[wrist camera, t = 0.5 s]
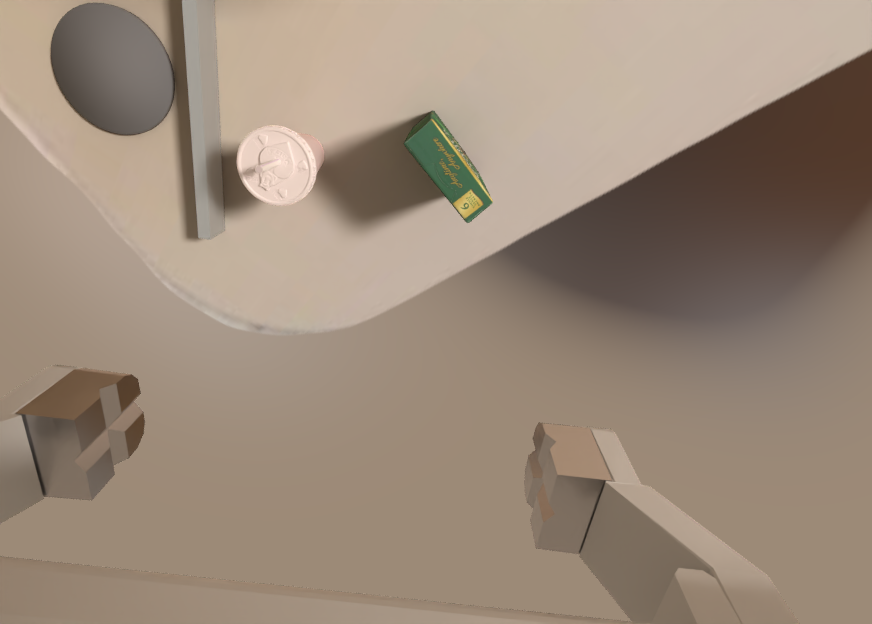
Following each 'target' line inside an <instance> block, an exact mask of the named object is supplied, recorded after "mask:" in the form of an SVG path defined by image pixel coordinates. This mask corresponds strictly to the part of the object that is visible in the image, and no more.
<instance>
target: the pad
mask: <svg viewBox="0 0 872 624" xmlns="http://www.w3.org/2000/svg"><path fill="white" fill-rule="evenodd" d="M51 59H52V66H53V70H54V73H55V76H56V79H57V82H58V84H59V86H60V88H61V90H62V92H63V93H64V95H65V97H66V98H67V100H68V101H69V102H70V104H71V105H72V106H73V107H74V108H75V109H76V110H77V111H78V112H79V113H80V114H81V115H82V116H83V117H84V118H85V119H87V120H88V121H89V122H91V123H93V124H94V125H96V126H97V127H100V128H102V129H104V130H106V131H109V132H112V133H117V134H125V135H130V134H139V133H143V132H146V131H149V130H151V129H153V128H154V127H156V126H157V125H158V124H160V123H161V122H162V121H163V119H164V118H165V117H166V116H167V114H168V112H169V110H170V108H171V105H172V102H173V98H174V91H175V80H174V73H173V69H172V65H171V62H170V59H169V56H168V54H167V52H166V50H165V48H164V46H163V44H162V43H161V41H160V40H159V38H158V37H157V36H156V34H155V33H154V32H153V31H152V30H151V29H150V28H149V27H148V25H147V24H145V23H144V22H143V21H142V20H141V19H139V18H138V17H137V16H135V15H134V14H132V13H130V12H128V11H126V10H124V9H122V8H119V7H117V6H113V5H109V4H104V3H87V4H83V5H80V6H77V7H75V8H73V9H72V10H70V11H69V12H67V13H66V14H65V15H64V16H63V17H62V19H61V20H60V21H59V23H58V24H57V27H56V29H55V31H54V34H53V38H52V44H51Z"/></svg>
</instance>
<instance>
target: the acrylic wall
mask: <svg viewBox="0 0 872 624" xmlns="http://www.w3.org/2000/svg"><path fill="white" fill-rule="evenodd" d="M182 11H183V25H184V39H185V54H186V68H187V82H188V97H189V111H190V125H191V140H192V154H193V169H194V183H195V197H196V212H197V226H198V238H202V239H210V240H211V239H212V238H214V237H215V236H217V235H219V234H220V233H222V232H223V231H225V220H224V199H223V177H222V155H221V134H220V112H219V91H218V69H217V47H216V26H215V4H214V0H182Z"/></svg>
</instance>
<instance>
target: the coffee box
mask: <svg viewBox="0 0 872 624" xmlns="http://www.w3.org/2000/svg"><path fill="white" fill-rule="evenodd" d="M404 145H405V147H406V148H407V149H408V150H409V152H410V153H411V154H412V155H413V157H414V158H415V159H416V160H417V162H418V163H419V164H420V165H421V167H422V168H423V169H424V170H425V172H426V173H427V174H428V175H429V177H430V178H431V179H432V180H433V182H434V183H435V184H436V185H437V186H438V188H439V189H440V190H441V192H442V193H443V194H444V195H445V197H446V198H447V199H448V200H449V202H450V203H451V204H452V205H453V207H454V208H455V209H456V210H457V212H458V213H459V214H460V215H461V217H462V218H463V219H464V220H465V221H466V222H467V223H469V222H471V221H472V220H473V219H474V218H475V217H476V216H478V215H479V214H480V213H481V212H482V211H484V210H485V209H486V208H487V207H488V206H490V205H491V204H492V203H493V201H492V199H491V197H490V195H489V193H488V191H487V189H486V186H485V184H484V182H483V180H482V178H481V176H480V174H479V172H478V171H477V170H476V168H475V167H474V165H473V164H472V162H471V161H470V159H469V158H468V156H467V155H466V153H465V151H463V149H462V148H461V146H460V145H459V144H458V142H457V141H456V140H455V138H454V137H453V136H452V134H451V133H450V132H449V130H448V129H447V128H446V126H445V125H444V124H443V122H442V121H441V119H440V118H439V117H438V115H437V114H436V113H435V111H431V112H430V113H429V114H428V115H427V116H426V117H425V118H424V119H422V120H421V121H420V122H419V123H418V124H416V126H414V127H413V128H412V130H411V132H410V133H409V135H408V137H407V138H406V140H405V142H404Z"/></svg>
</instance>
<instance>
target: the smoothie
mask: <svg viewBox="0 0 872 624" xmlns="http://www.w3.org/2000/svg"><path fill="white" fill-rule="evenodd" d="M324 156H325V155H324V149H323V147H322V145H321V143H320V142H319V141H318V140H317V139H316V138H315V137H313V136H311V135H307V134H301V133H296V132H294V131H292V130H290V129H289V128H287V127H282V126H278V125H269V126H264V127H261V128H258V129H256V130H254V131H252V132H250V133H249V134H248V135H247V136H246V137H245V138H244V139H243V141H242V142H241V144H240V146H239V149H238V152H237V170H238V173H239V176H240V179H241V181H242V183H243V184H244V186H245V187H246V189H247V190H248V191H249V192H250V193H251V194H252V195H253V196H254V197H256V198H257V199H259V200H260V201H262V202H264V203H267V204H270V205H275V206H285V205H290V204H293V203H295V202H298V201H300V200H301V199H303V198H304V197H305V196H307V194H308V193H309V192H310V191H311V189H312V187H313V185H314V182H315V180H316V174H317V172H318V171H319V169H320V168H321V166H322V164H323V162H324Z"/></svg>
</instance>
